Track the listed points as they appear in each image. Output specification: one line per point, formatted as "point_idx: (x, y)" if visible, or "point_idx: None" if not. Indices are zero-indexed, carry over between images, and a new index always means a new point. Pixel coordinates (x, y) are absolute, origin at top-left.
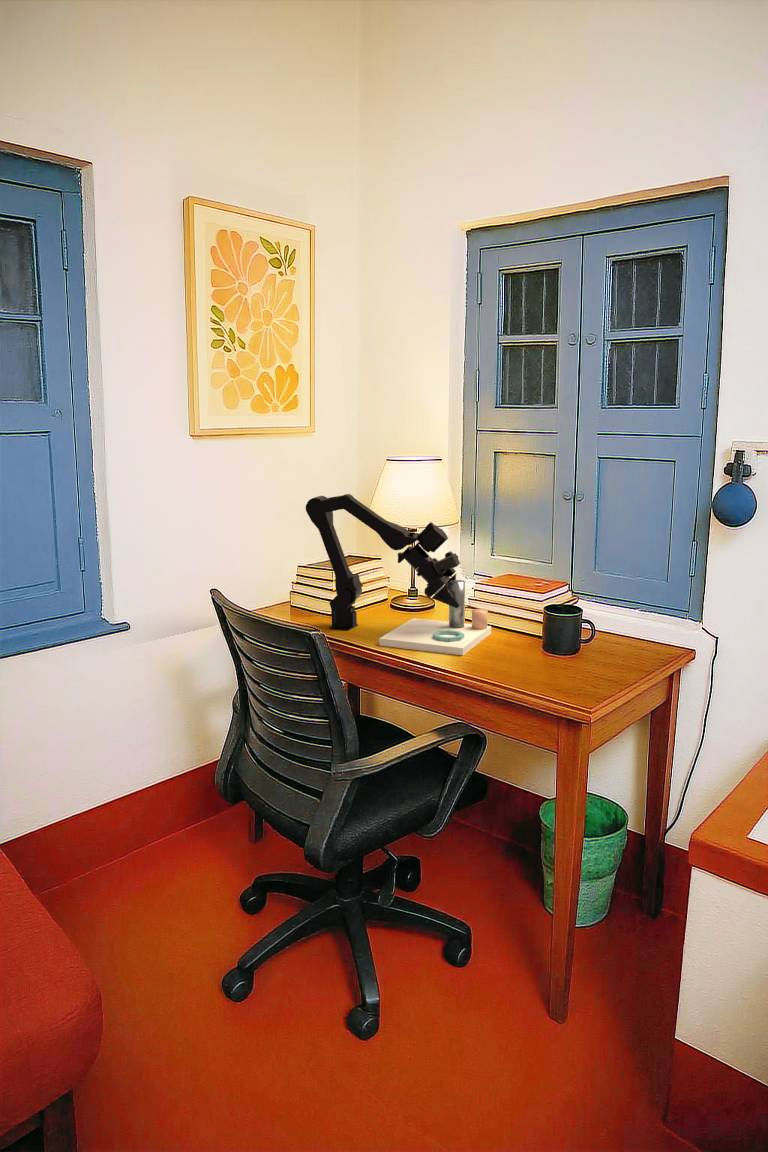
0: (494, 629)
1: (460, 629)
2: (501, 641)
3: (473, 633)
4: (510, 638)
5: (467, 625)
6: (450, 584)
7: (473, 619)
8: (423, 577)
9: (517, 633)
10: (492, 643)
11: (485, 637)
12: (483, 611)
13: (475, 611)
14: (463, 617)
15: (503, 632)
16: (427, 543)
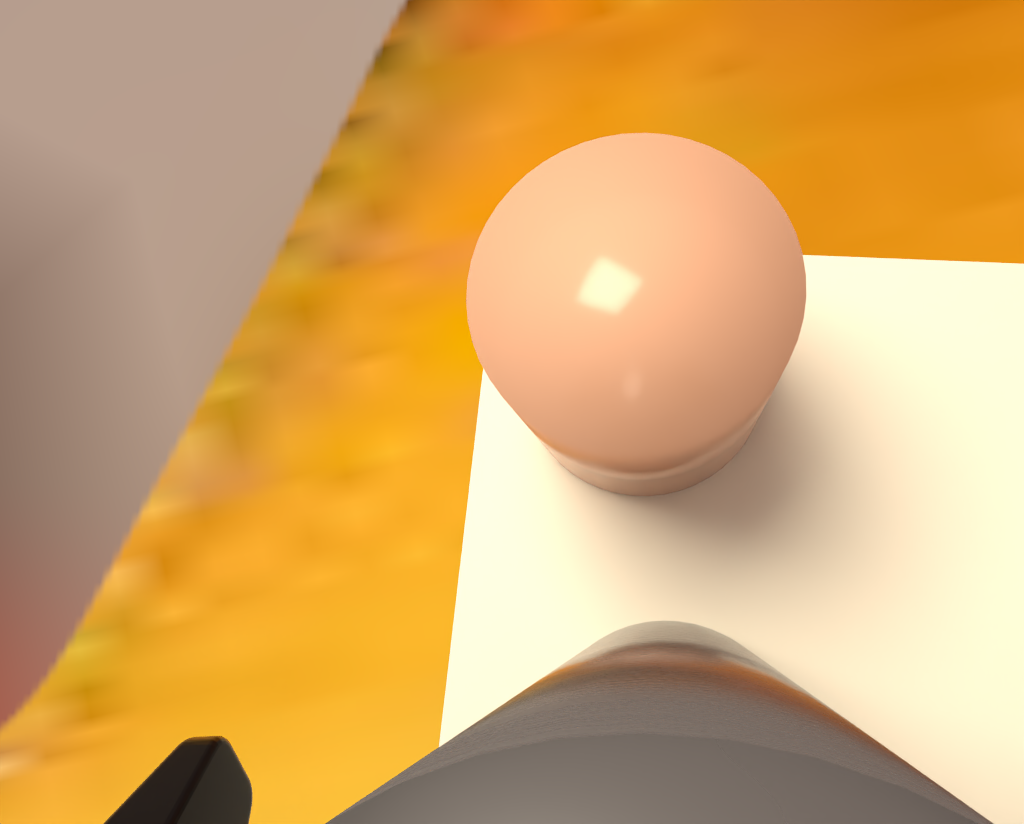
0: (303, 295)
1: (847, 643)
2: (833, 75)
3: (1015, 381)
4: (656, 18)
5: (561, 588)
6: None
7: (755, 421)
8: None
9: (412, 7)
10: (975, 149)
11: None
12: (680, 199)
13: (735, 354)
14: (706, 633)
15: (411, 161)
16: None
